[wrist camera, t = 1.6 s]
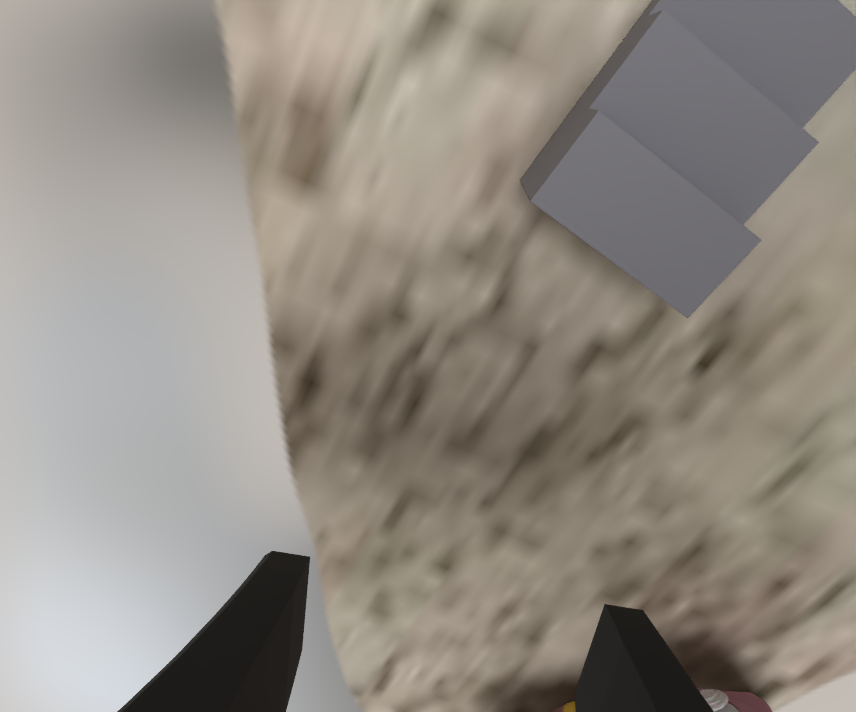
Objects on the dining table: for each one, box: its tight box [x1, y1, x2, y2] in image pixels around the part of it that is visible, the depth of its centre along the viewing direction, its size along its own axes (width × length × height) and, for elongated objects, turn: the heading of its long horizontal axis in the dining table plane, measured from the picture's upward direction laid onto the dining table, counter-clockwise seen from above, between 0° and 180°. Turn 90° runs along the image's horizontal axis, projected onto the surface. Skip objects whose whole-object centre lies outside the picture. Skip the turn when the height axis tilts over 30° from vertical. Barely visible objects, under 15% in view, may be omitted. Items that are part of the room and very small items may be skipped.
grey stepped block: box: [520, 0, 856, 318], centre depth 14 cm, size 4×7×4 cm, turn 145°
